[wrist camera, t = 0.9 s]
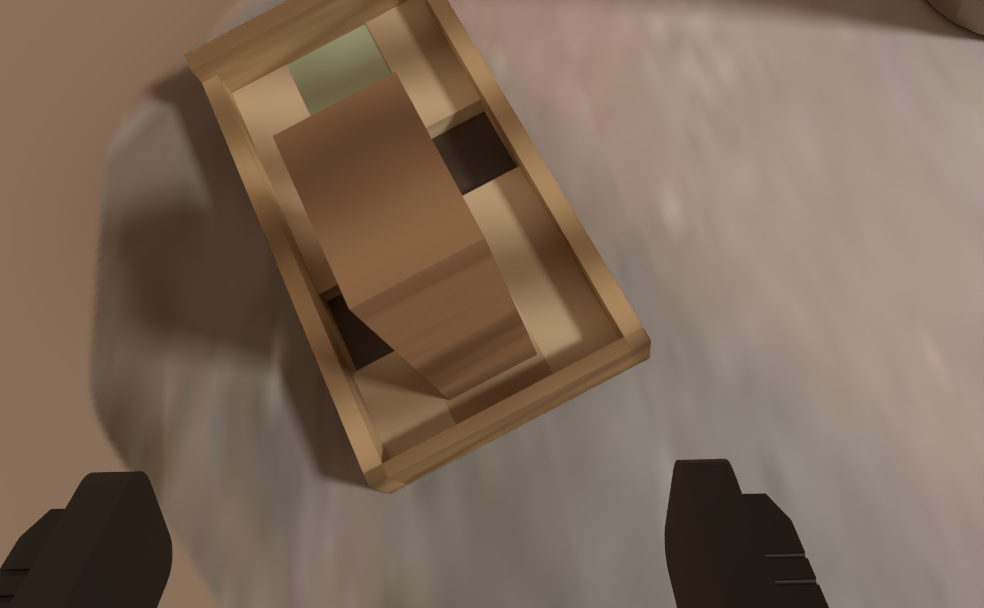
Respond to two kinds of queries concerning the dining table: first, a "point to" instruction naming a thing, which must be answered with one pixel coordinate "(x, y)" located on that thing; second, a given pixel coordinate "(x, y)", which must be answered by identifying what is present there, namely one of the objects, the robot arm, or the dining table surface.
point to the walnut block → (404, 238)
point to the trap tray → (485, 188)
